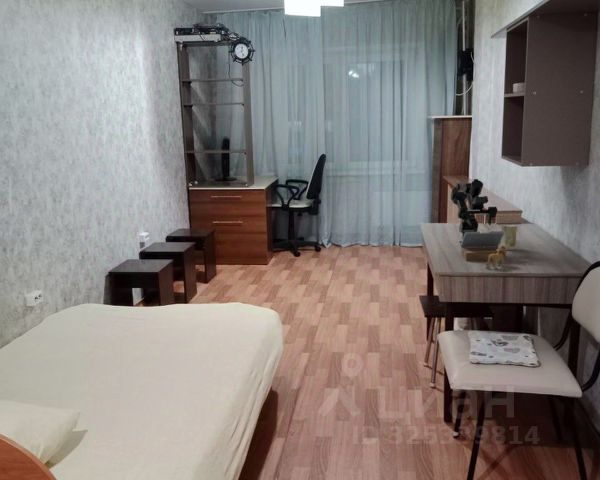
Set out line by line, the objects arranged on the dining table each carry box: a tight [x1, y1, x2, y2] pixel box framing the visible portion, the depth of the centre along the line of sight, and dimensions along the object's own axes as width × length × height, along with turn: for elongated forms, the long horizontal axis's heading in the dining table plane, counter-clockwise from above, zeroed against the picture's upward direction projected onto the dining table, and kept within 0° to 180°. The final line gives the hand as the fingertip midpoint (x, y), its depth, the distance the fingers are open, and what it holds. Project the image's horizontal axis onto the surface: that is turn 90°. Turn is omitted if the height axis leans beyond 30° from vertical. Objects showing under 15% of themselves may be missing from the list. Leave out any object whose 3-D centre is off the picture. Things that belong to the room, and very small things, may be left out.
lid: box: [460, 229, 504, 248], centre depth 277 cm, size 13×18×1 cm
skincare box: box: [499, 224, 518, 251], centre depth 291 cm, size 6×4×12 cm
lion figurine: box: [485, 245, 507, 270], centre depth 260 cm, size 15×5×9 cm, turn 137°
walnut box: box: [460, 246, 506, 262], centre depth 277 cm, size 12×18×4 cm, turn 87°
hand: (480, 224), depth 283 cm, fingers open, 9 cm apart
